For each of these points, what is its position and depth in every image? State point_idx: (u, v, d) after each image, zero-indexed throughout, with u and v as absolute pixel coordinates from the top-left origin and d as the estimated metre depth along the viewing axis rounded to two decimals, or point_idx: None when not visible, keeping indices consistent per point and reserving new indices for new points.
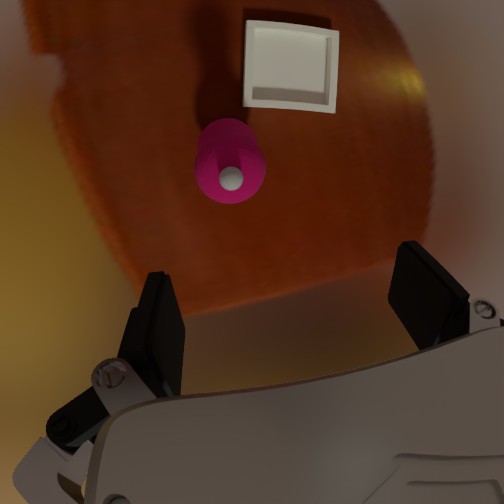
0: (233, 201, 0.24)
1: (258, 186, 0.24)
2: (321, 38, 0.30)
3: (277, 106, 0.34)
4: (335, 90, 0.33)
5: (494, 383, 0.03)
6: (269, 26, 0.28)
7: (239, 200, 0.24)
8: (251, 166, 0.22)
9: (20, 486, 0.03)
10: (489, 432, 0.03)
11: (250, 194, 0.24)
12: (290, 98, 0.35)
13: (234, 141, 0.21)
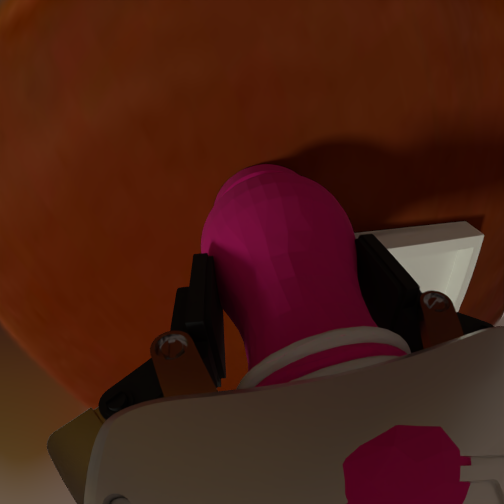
0: None
1: None
2: None
3: None
4: None
5: (494, 383, 0.03)
6: (469, 266, 0.19)
7: None
8: None
9: (53, 450, 0.05)
10: (489, 432, 0.03)
11: None
12: None
13: None
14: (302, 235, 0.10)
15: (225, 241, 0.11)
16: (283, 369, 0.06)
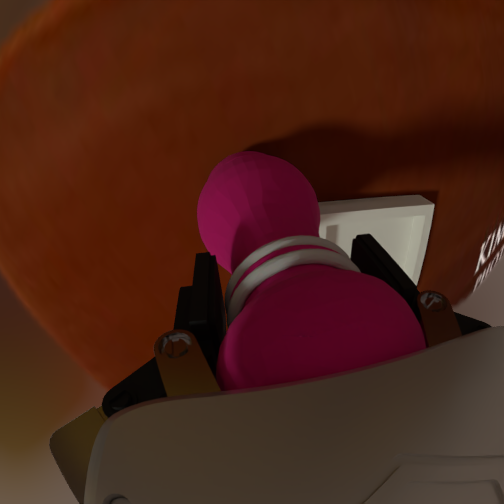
0: None
1: None
2: None
3: None
4: None
5: (494, 383, 0.03)
6: (423, 232, 0.24)
7: None
8: None
9: (56, 449, 0.05)
10: (489, 432, 0.03)
11: None
12: None
13: None
14: (273, 193, 0.13)
15: (217, 202, 0.14)
16: (257, 260, 0.09)
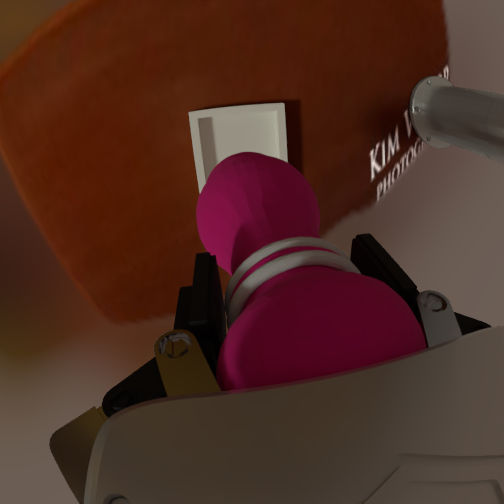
0: None
1: None
2: None
3: (194, 143, 0.35)
4: None
5: (494, 383, 0.03)
6: (279, 124, 0.35)
7: None
8: None
9: (56, 449, 0.05)
10: (489, 432, 0.03)
11: None
12: (206, 154, 0.38)
13: None
14: (272, 194, 0.13)
15: (216, 203, 0.14)
16: (257, 262, 0.09)
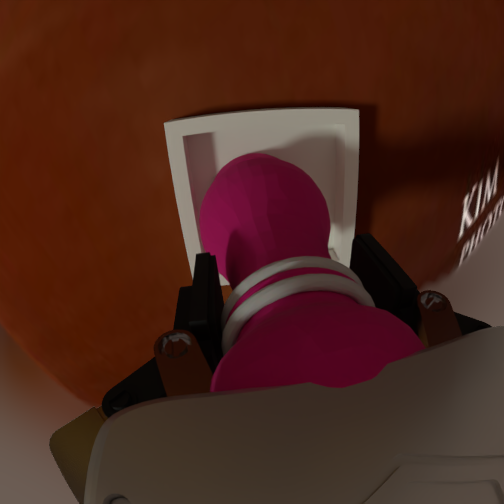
0: None
1: None
2: (331, 240, 0.23)
3: (177, 187, 0.18)
4: None
5: (494, 383, 0.03)
6: (348, 151, 0.17)
7: None
8: None
9: (56, 449, 0.05)
10: (489, 432, 0.03)
11: None
12: None
13: None
14: (279, 202, 0.12)
15: (218, 210, 0.13)
16: (256, 284, 0.08)
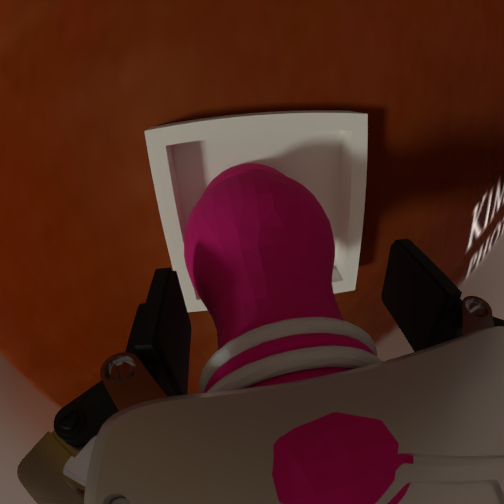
0: None
1: None
2: None
3: (161, 204, 0.16)
4: None
5: (494, 383, 0.03)
6: (355, 161, 0.15)
7: None
8: None
9: (24, 479, 0.04)
10: (489, 432, 0.03)
11: None
12: None
13: None
14: (273, 231, 0.10)
15: (203, 237, 0.11)
16: (239, 355, 0.06)
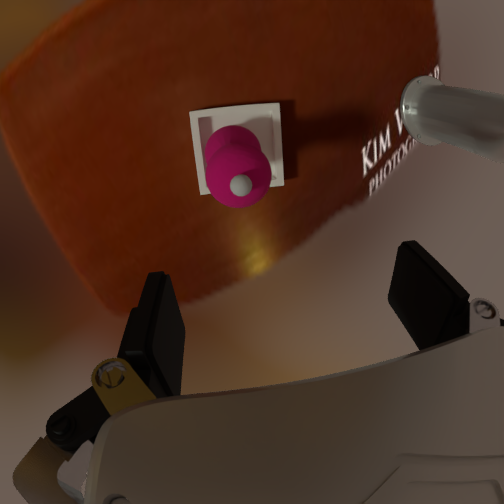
0: (212, 186, 0.25)
1: (228, 205, 0.26)
2: (273, 171, 0.42)
3: (194, 141, 0.37)
4: None
5: (494, 383, 0.03)
6: (275, 123, 0.37)
7: (213, 191, 0.25)
8: (249, 198, 0.25)
9: (20, 486, 0.03)
10: (489, 432, 0.03)
11: (221, 200, 0.25)
12: None
13: (269, 179, 0.25)
14: (234, 137, 0.32)
15: (213, 142, 0.33)
16: None
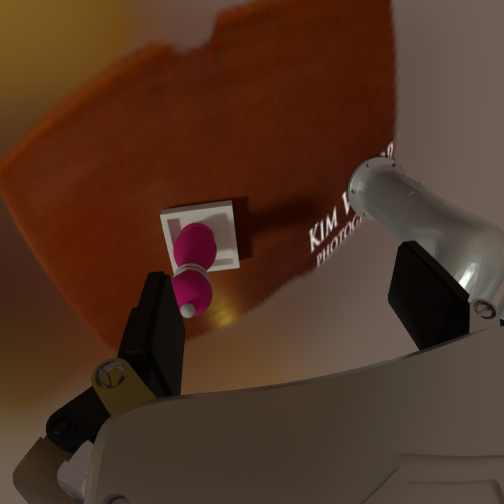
0: None
1: None
2: (231, 254, 0.54)
3: (166, 237, 0.49)
4: None
5: (494, 383, 0.03)
6: (229, 221, 0.49)
7: None
8: (196, 313, 0.37)
9: (20, 486, 0.03)
10: (489, 432, 0.03)
11: None
12: None
13: (208, 300, 0.37)
14: (192, 247, 0.43)
15: (177, 249, 0.44)
16: (179, 269, 0.39)
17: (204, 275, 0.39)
